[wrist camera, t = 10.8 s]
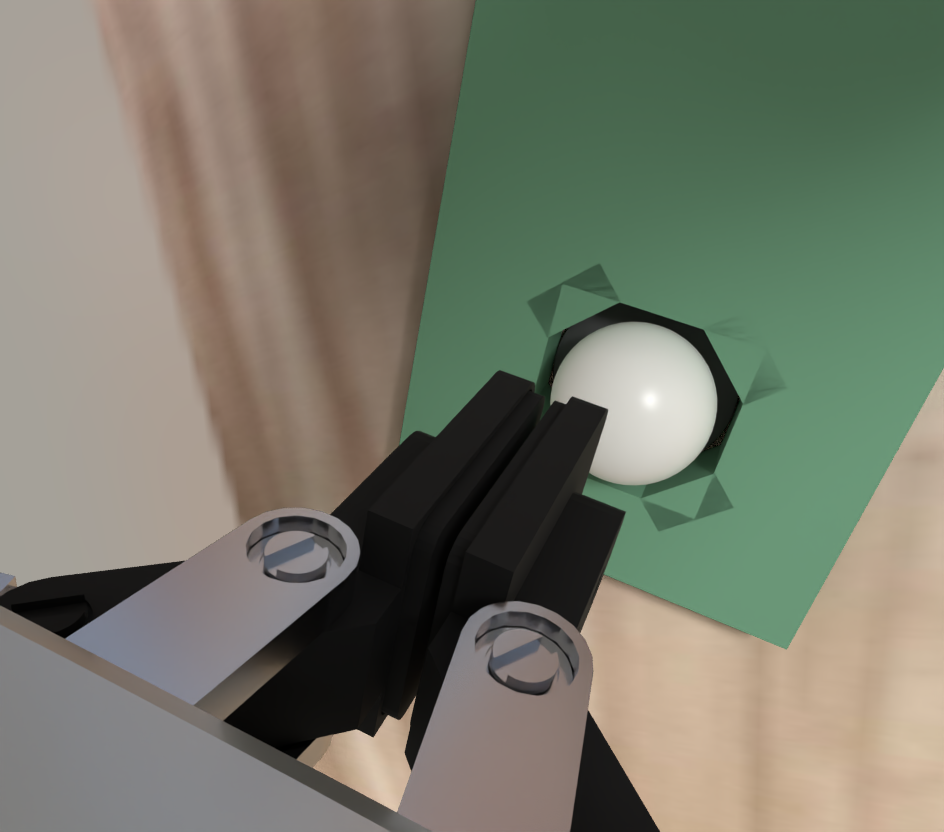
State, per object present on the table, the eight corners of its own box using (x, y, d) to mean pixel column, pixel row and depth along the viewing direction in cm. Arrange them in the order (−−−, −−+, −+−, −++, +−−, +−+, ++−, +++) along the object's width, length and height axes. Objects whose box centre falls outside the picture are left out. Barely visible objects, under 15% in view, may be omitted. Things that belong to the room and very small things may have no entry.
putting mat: (540, -203, 25) (514, -223, 23) (1170, -94, 21) (1207, -107, 19) (415, 461, 38) (391, 487, 36) (789, 611, 34) (786, 649, 32)
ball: (539, 454, 33) (590, 318, 33) (680, 508, 31) (733, 366, 31) (513, 447, 27) (576, 282, 27) (685, 512, 26) (750, 338, 26)
